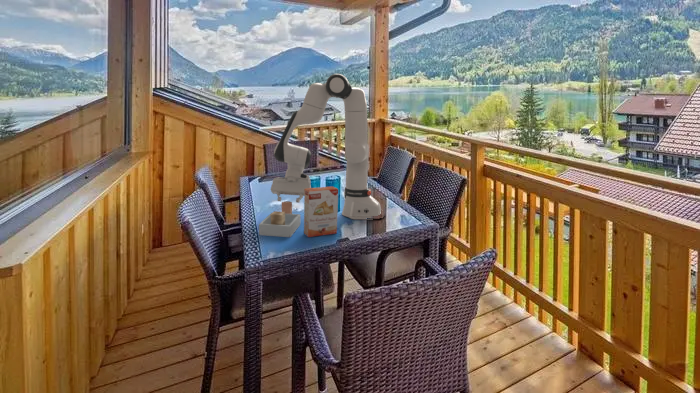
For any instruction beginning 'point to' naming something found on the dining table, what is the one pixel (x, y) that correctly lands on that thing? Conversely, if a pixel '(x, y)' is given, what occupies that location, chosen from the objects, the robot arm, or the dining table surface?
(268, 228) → the tote
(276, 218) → the beech block
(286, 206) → the brown rounded cylinder
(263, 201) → the dining table surface
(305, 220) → the cracker box
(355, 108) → the robot arm
